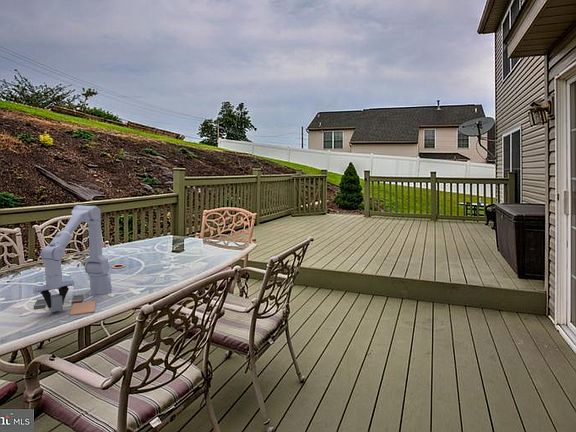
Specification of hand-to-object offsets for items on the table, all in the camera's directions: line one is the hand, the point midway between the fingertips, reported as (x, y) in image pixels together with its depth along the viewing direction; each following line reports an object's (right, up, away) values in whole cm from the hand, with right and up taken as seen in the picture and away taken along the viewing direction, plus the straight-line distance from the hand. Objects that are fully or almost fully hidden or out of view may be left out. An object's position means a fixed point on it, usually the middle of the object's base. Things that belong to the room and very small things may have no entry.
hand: (55, 305), depth 149 cm
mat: (+9, -3, +5) cm, 10 cm away
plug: (-2, -1, +2) cm, 3 cm away
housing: (-5, -2, +11) cm, 12 cm away
